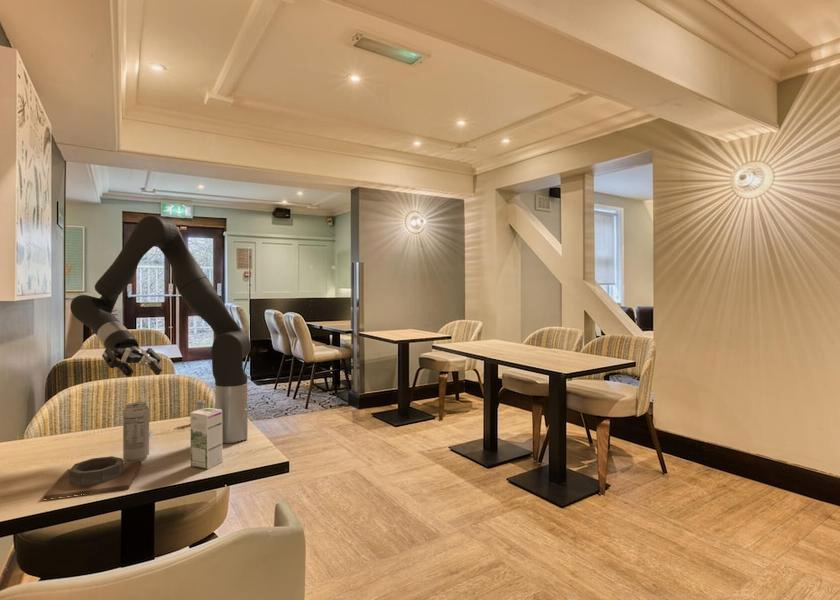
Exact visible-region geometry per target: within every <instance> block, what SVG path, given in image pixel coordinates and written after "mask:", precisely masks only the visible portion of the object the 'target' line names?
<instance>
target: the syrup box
mask: <svg viewBox="0 0 840 600" xmlns="http://www.w3.org/2000/svg"><path fill="white" fill-rule="evenodd" d="M189 418H190V422H189V423H190V424H189V425H190V467H193V468H199V469H203V470H208V469H211V468H214V467H216V466H217V465H220V464H221V463H223V462H224V459H223V457H224V456H223V443H222V410H221V409H215V408H212V407H211V408H210V407H204V408H202V409H199V410H193V411H191V412H190V416H189Z"/></svg>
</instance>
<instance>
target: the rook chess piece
mask: <svg viewBox="0 0 840 600" xmlns="http://www.w3.org/2000/svg"><path fill="white" fill-rule="evenodd" d="M194 404H195V406H196V407H195V409H196V410H199V409H202V408H206V407H205V404H206V401H205V399H203V398H201V399H197V400H195V402H194ZM196 410H195V411H196Z"/></svg>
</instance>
